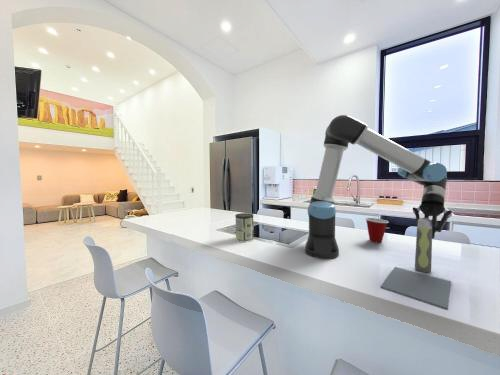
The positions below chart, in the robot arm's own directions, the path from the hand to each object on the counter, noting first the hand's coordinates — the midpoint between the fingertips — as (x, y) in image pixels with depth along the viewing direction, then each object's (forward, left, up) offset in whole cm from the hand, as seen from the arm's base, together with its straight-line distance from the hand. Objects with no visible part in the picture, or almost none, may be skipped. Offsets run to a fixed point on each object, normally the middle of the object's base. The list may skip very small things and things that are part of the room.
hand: (426, 244), depth 83 cm
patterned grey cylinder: (-3, -4, -9) cm, 10 cm away
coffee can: (-80, +18, -9) cm, 82 cm away
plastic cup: (-9, +30, -9) cm, 33 cm away
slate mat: (-10, -17, -9) cm, 22 cm away
